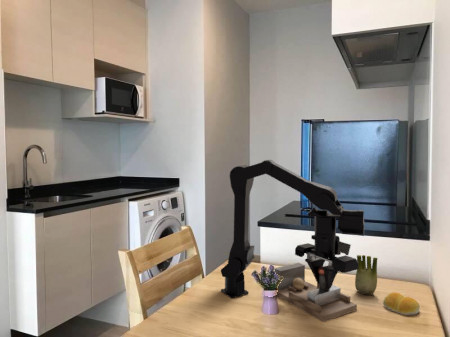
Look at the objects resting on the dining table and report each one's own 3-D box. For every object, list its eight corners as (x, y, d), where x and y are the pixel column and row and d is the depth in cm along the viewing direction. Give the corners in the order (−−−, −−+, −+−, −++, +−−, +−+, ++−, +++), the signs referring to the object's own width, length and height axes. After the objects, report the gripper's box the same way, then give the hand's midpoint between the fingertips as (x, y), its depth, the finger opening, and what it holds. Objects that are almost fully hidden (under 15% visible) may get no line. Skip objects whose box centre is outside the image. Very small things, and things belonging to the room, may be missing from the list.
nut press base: (270, 292, 115) (270, 269, 114) (301, 284, 121) (301, 261, 121) (323, 321, 96) (324, 293, 95) (356, 309, 103) (357, 283, 102)
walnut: (290, 288, 114) (290, 277, 114) (298, 286, 116) (298, 275, 116) (298, 292, 111) (298, 281, 111) (306, 290, 113) (307, 278, 112)
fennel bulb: (378, 294, 113) (379, 256, 112) (369, 298, 110) (370, 259, 109) (361, 288, 118) (362, 251, 117) (352, 292, 115) (353, 254, 114)
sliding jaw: (306, 302, 103) (306, 270, 103) (331, 294, 109) (332, 263, 108) (316, 307, 100) (316, 274, 100) (341, 299, 105) (341, 267, 105)
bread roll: (412, 319, 98) (412, 304, 97) (379, 307, 105) (379, 294, 104) (425, 309, 103) (425, 295, 103) (393, 299, 110) (393, 286, 110)
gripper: (372, 235, 99) (371, 291, 100) (320, 222, 115) (320, 271, 116) (344, 241, 93) (343, 301, 95) (294, 227, 109) (293, 278, 110)
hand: (324, 286), depth 104 cm, fingers closed on sliding jaw, 3 cm apart
